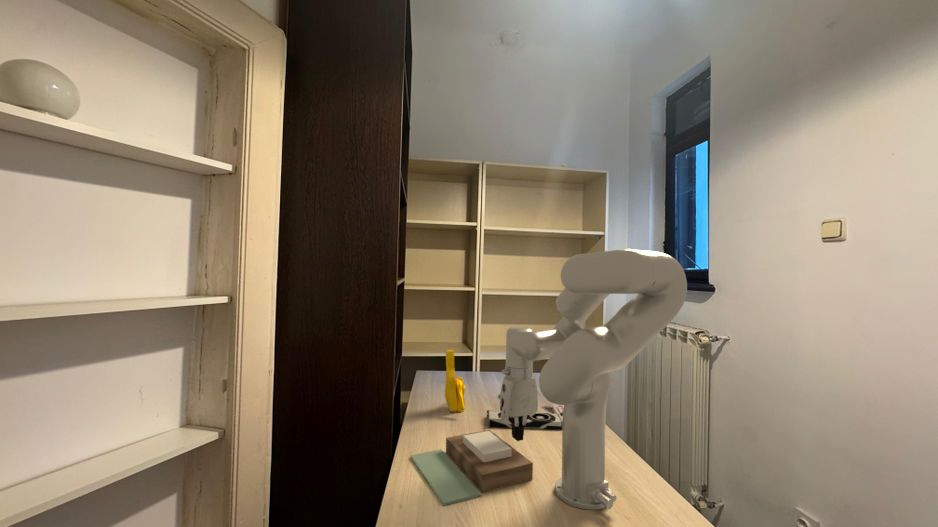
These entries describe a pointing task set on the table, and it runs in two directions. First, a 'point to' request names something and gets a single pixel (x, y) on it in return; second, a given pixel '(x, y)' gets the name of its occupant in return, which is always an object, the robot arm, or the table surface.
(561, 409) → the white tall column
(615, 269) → the robot arm
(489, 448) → the tile
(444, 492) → the mat
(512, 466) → the block
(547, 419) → the graphics card
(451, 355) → the yellow upright piece
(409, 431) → the table surface
